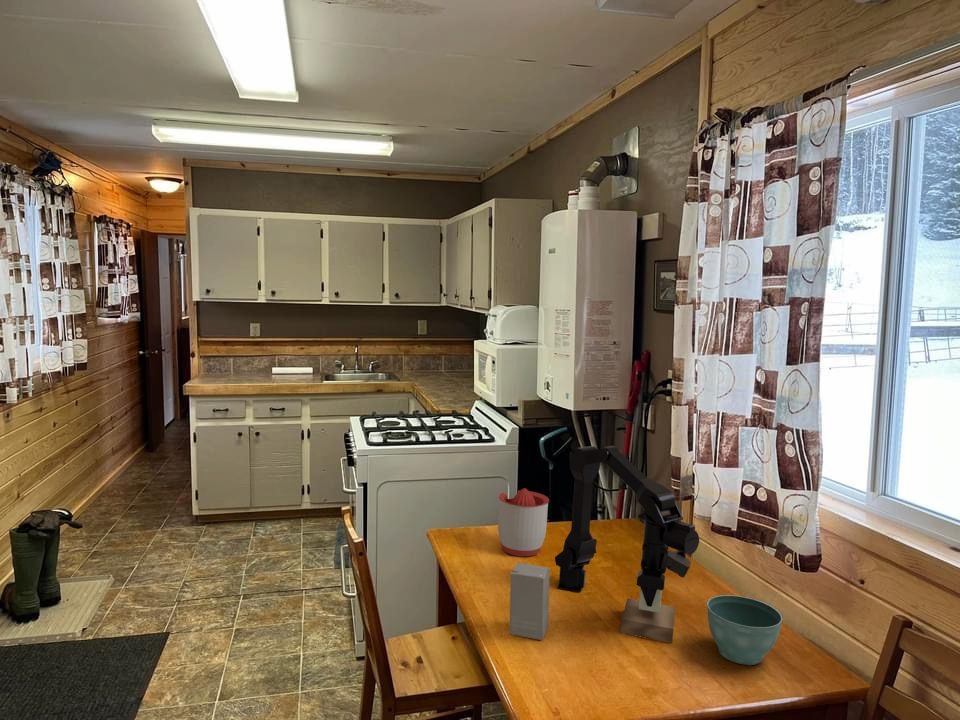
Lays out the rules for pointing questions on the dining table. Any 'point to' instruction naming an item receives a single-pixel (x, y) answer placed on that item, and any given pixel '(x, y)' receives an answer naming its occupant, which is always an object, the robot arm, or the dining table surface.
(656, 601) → the sage block
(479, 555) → the dining table surface
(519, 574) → the skincare box
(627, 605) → the walnut block
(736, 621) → the flower pot
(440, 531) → the dining table surface
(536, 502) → the citrus juicer
